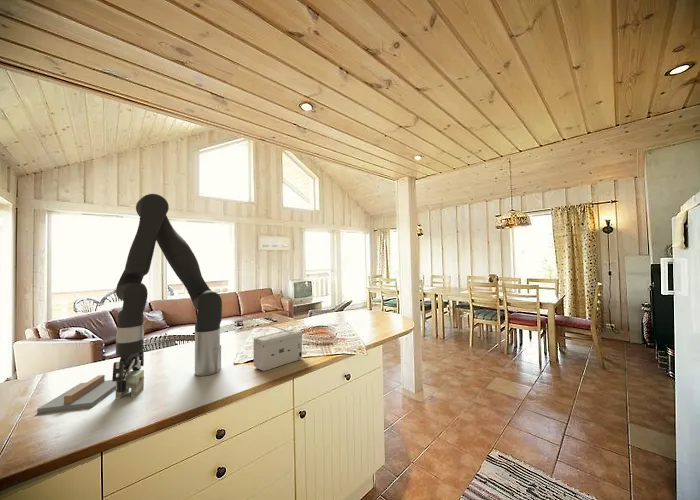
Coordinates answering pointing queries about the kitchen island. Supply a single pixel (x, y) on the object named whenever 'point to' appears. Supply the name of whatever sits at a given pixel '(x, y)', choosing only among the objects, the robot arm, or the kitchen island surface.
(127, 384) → the sage block
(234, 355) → the kitchen island surface
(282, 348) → the stereo radio cassette player
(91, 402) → the cleat board
